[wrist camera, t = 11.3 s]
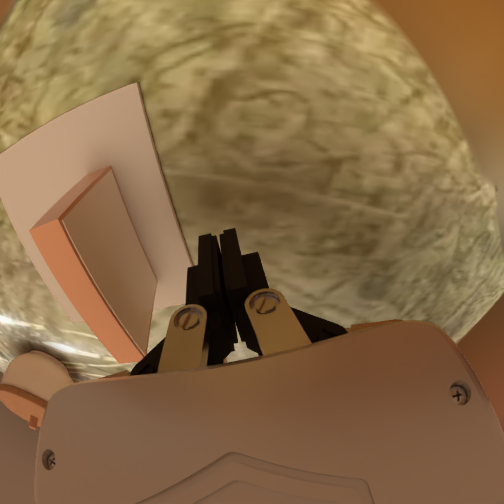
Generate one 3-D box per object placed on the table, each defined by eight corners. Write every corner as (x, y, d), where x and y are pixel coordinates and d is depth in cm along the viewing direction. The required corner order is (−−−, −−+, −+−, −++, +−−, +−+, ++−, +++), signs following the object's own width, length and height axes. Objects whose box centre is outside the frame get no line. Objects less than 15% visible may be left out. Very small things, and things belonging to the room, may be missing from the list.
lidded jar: (14, 323, 20) (-13, 392, 12) (93, 366, 25) (80, 439, 17) (14, 361, 24) (-3, 416, 16) (77, 394, 29) (69, 450, 21)
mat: (204, 295, 21) (204, 299, 21) (75, 319, 21) (73, 323, 20) (138, 82, 12) (136, 82, 12) (-8, 161, 12) (-12, 163, 11)
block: (158, 280, 19) (146, 360, 13) (136, 285, 19) (119, 363, 13) (111, 165, 14) (58, 218, 8) (86, 174, 14) (28, 231, 8)
